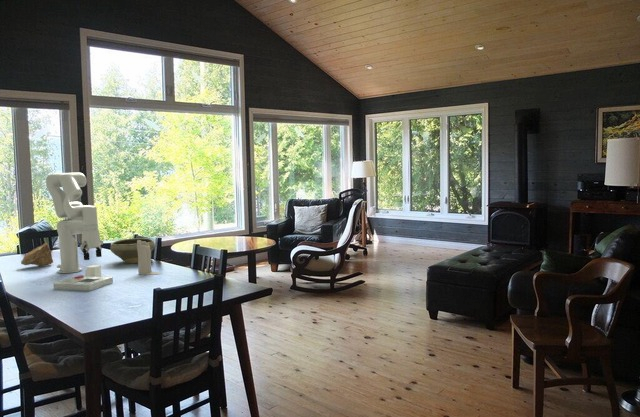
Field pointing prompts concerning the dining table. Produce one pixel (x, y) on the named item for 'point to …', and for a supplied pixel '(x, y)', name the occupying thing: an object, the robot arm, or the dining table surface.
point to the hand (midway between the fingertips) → (92, 258)
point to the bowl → (129, 249)
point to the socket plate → (83, 283)
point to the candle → (144, 258)
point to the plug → (93, 270)
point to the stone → (38, 256)
